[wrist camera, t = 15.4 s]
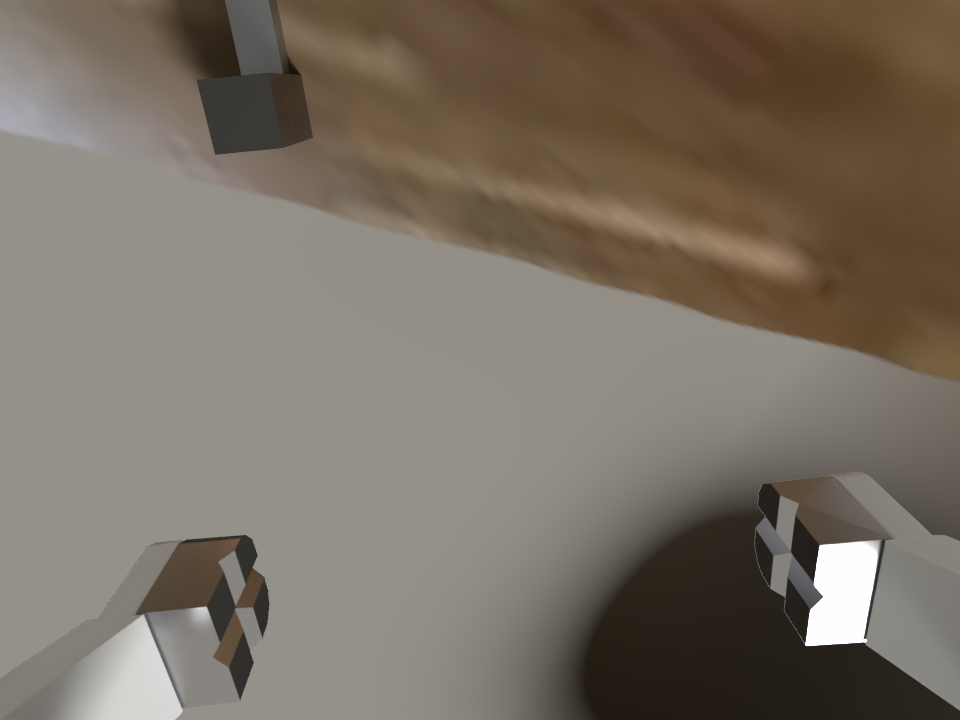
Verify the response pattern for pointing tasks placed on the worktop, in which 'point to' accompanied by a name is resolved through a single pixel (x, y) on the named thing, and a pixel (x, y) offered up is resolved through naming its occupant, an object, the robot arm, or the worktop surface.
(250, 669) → the robot arm
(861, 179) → the worktop surface
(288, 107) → the hook tool
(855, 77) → the worktop surface
